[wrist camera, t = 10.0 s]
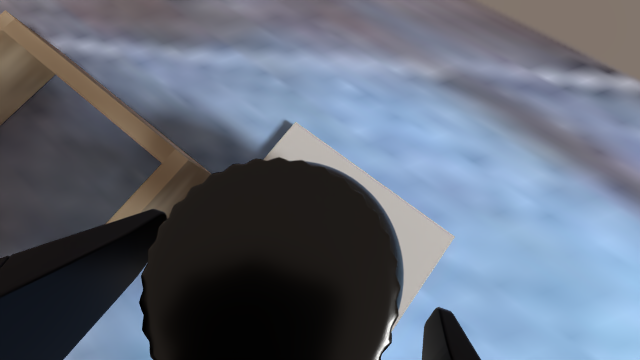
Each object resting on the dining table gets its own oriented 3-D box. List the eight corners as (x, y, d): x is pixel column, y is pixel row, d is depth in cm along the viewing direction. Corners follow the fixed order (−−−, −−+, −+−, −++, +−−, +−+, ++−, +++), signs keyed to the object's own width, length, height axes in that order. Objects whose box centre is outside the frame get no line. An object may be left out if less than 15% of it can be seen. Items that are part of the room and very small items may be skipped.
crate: (27, 394, 16) (-66, 438, 13) (-123, 221, 19) (-237, 214, 15) (216, 178, 19) (188, 159, 15) (62, 53, 22) (5, 10, 18)
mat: (329, 414, 16) (329, 424, 15) (174, 272, 18) (166, 273, 17) (448, 237, 18) (454, 236, 17) (297, 128, 20) (295, 121, 19)
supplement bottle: (233, 300, 16) (-2, 423, 5) (271, 187, 18) (165, 68, 6) (350, 339, 16) (413, 592, 4) (380, 218, 17) (488, 152, 6)
